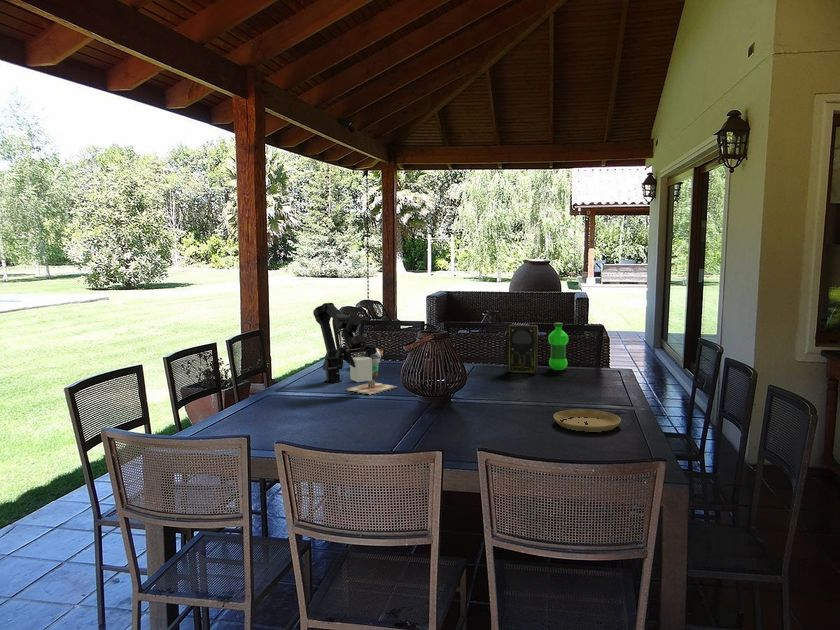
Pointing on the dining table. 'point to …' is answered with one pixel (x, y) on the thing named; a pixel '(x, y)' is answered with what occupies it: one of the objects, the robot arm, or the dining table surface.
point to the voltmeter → (522, 348)
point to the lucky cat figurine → (376, 353)
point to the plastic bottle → (558, 347)
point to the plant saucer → (594, 424)
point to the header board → (371, 388)
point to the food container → (375, 367)
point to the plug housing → (361, 369)
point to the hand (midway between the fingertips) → (362, 366)
